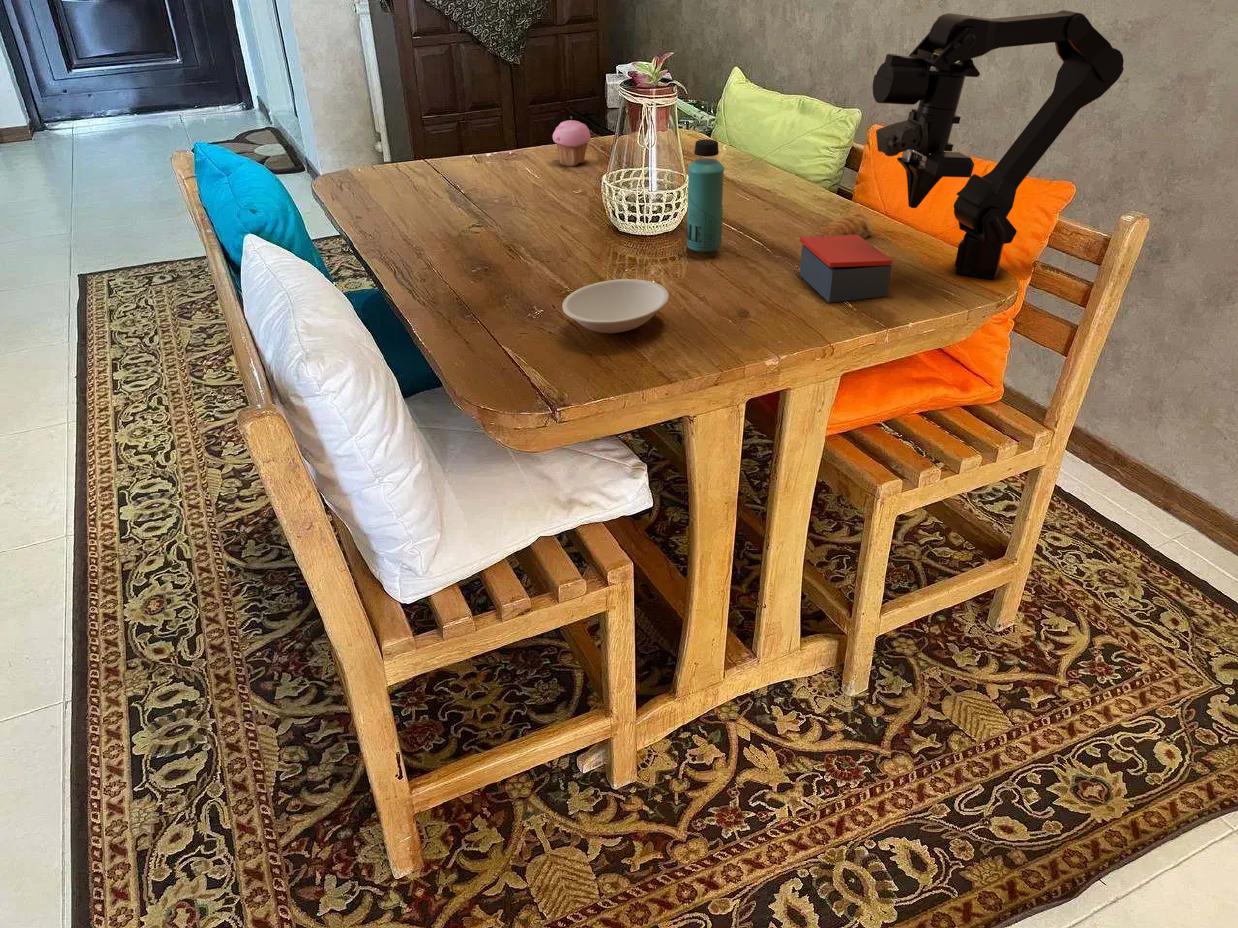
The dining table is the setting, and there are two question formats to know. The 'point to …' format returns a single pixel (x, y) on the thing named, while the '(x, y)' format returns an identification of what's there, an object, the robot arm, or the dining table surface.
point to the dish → (615, 304)
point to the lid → (845, 251)
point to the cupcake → (571, 142)
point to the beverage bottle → (705, 198)
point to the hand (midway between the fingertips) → (912, 207)
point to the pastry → (849, 226)
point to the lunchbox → (844, 279)
